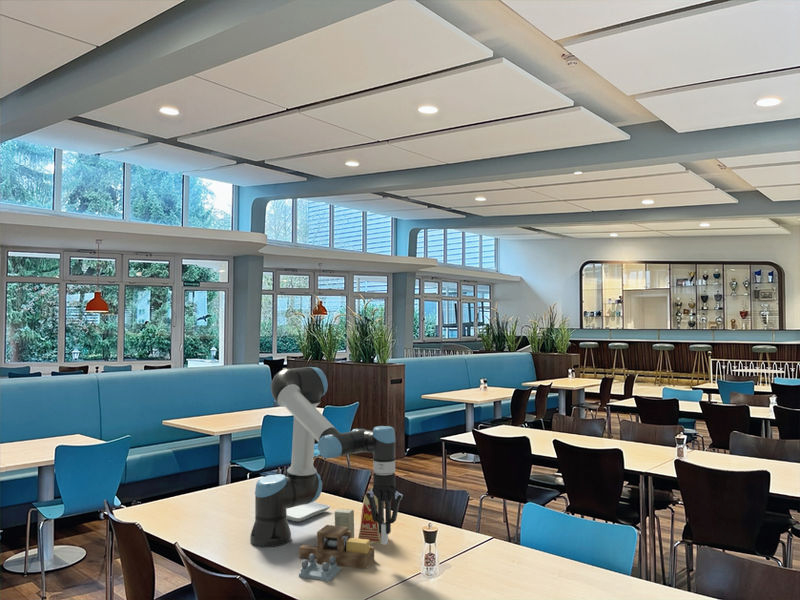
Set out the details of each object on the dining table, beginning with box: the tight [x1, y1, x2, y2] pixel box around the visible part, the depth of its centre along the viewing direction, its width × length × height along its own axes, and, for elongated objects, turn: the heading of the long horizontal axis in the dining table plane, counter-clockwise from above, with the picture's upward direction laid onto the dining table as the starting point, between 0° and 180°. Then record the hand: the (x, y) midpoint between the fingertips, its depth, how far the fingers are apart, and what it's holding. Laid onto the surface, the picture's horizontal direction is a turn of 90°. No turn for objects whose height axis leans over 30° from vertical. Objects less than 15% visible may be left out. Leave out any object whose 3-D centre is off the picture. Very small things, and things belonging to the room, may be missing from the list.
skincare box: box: [334, 508, 355, 538], centre depth 237 cm, size 6×4×12 cm
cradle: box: [298, 554, 342, 582], centre depth 209 cm, size 11×9×5 cm
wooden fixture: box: [298, 524, 375, 570], centre depth 221 cm, size 26×8×10 cm, turn 73°
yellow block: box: [346, 537, 371, 554], centre depth 218 cm, size 7×4×4 cm, turn 73°
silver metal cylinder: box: [324, 535, 350, 551], centre depth 221 cm, size 10×5×5 cm, turn 73°
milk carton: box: [357, 486, 385, 545], centre depth 242 cm, size 9×9×20 cm
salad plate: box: [286, 501, 331, 523], centre depth 272 cm, size 21×21×3 cm
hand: (384, 542), depth 215 cm, fingers closed
